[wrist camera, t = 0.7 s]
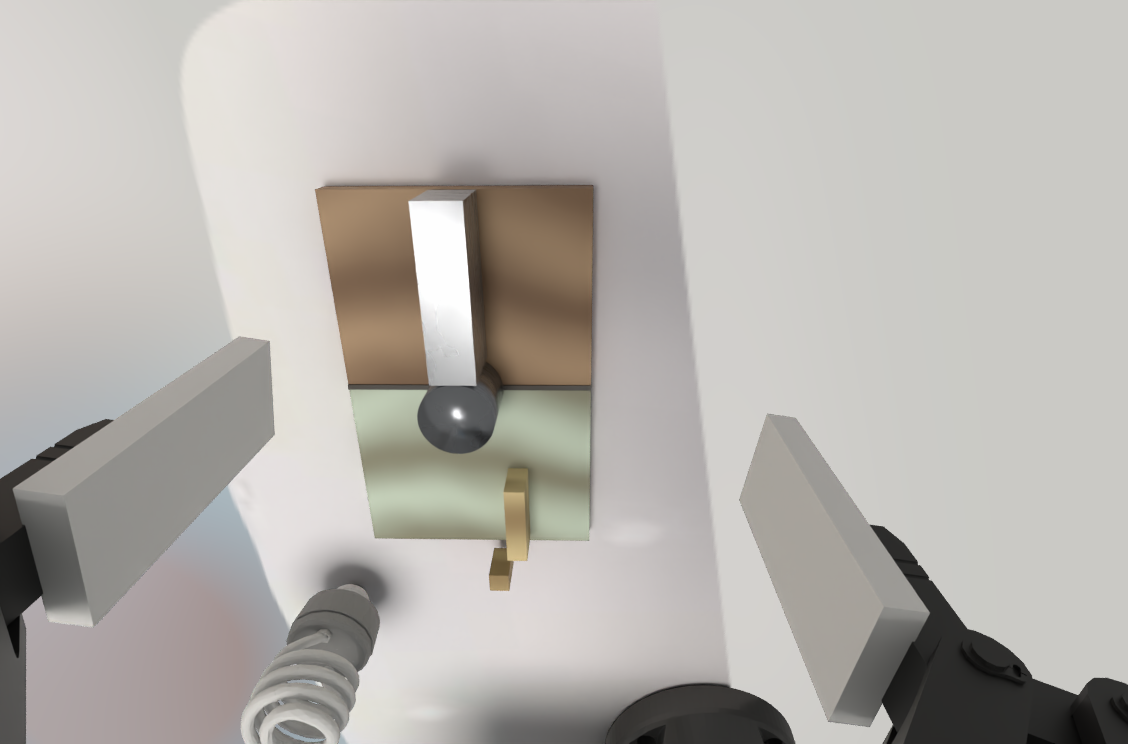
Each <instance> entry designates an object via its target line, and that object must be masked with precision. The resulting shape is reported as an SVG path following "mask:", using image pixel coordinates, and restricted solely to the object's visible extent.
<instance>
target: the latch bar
mask: <svg viewBox="0 0 1128 744" xmlns="http://www.w3.org/2000/svg"><path fill="white" fill-rule="evenodd" d="M409 210H410V219H411V228H412V237H413V246H414V255H415V264H416V273H417V282H418V291H419V300H420V309H421V318H422V327H423V336H424V345H425V354H426V363H427V373H428V382H429V388H428V390H427V392H426V394H425V396H424V398H423V400H422V401H421V403H420V406H419V408H418V413H417V421H418V425H419V428H420V431H421V433H422V434H423V436H424V437H425V438H426V439H427V441H428V442H430V443H431V444H432V445H433V446H435V447H436V448H438V449H440V450H442V451H445V452H448V453H453V454H465V453H470V452H473V451H476V450H478V449H480V448H481V447H483V446H484V445H485V444H486V443H487V442H488V441H489V439H490V438H491V436H492V434H493V431H494V428H495V424H496V420H497V416H498V413H499V409H500V405H501V401H502V398H503V383H502V380H501V377H500V376H499V374H498V372H497V371H496V370H495V369H494V368H493V367H492V366H491V365H490V364H489V363H487V362H486V359H487V347H486V332H485V317H484V301H483V286H482V271H481V256H480V241H479V225H478V210H477V195H476V190H427V191H425V192H423V193H422V194H420V195H418V196H416V197H415V198H413V199H411V200H409Z"/></svg>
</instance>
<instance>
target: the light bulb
mask: <svg viewBox="0 0 1128 744" xmlns="http://www.w3.org/2000/svg"><path fill="white" fill-rule="evenodd" d="M379 624H380V619H379V616H378V612H377V610H376V609H375V607H374V606H373V604H372V603H371V602H370V601H369V596H368V594H367V593H366V591H365V590H364V589H363V588H362V587H359V586H357V585H354V584H345V585H342V586H340V587H338V588H337V589H329V590H324V591H321V592H319V593H317V594H316V595H314V596H313V597H312V598H310V599H309V601H308V602H307V604H306V605H305V606H304V608H303V609H302V611H301V612H300V614H299V615H298V616H297V618H296V619H295V621H294V622H293V623H292V626H291V629H290V631H289V635H288V638H287V646H286V647H284V648H283V649H282V650H281V651H280V652H279V653H278V654H277V656H276V657H275V658H274V661H273V662H272V663H271V664H270V665H269V666H268V667H267V668H266V669H265V671H264V672H263V674H262V676H261V678H260V681H259V682H258V684H257V685H256V686H255V688H254V690H253V692H252V695H251V697H250V701H249V703H248V704H247V706H246V708H245V710H244V711H243V714H242V718H241V733H242V736H243V740H244V742H245V744H338V742H339V738H340V732H341V731H342V730H343V729H344V728H345V727H346V725H347V723H348V721H349V712H350V711H351V710H352V708H353V707H354V704H355V701H356V697H355V692H356V690H357V688H358V686H359V675H358V673H357V672H358V671H360V670H362V669H363V667H364V666H365V665H366V664H367V662H368V660H369V657H370V656H371V655H372V652H373V649H374V645H375V641H376V637H377V634H378V630H379ZM293 664H297V665H293ZM290 665H292V666H290ZM345 677H346V678H347V679H346V678H345ZM300 679H306V680H313V681H318V682H321V683H322V686H323V687H320V686H316V685H312V684H308V683H287V681H290V680H300ZM279 700H281V701H282V702H283V703H284V705H280V704H279V702H278V701H279ZM310 701H312V702H316V703H318V704H315V703H312V702H310ZM319 704H320V705H319ZM264 710H265V711H266V713H267V714H268V715H266V714H265V711H264ZM334 719H335V720H334ZM276 724H278V725H279V726H280V727H282V728H284V729H286V730H288V731H289V732H291V733H294V734H297V735H300V736H303V737H306V738H315V739H316V738H317V739H324V738H326V739H325V740H323V741H320V742H304V741H301V740H297V739H294V738H292V737H290V736H288V735H285V734H283V733H282V732H281V731H279V730H278V729H277V728H276V727H275V725H276ZM255 727H256V728H255ZM256 729H257V730H258V732H259V735H260V737H259V735H258V733H257V731H256Z"/></svg>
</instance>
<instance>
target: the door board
mask: <svg viewBox="0 0 1128 744" xmlns="http://www.w3.org/2000/svg"><path fill="white" fill-rule="evenodd" d="M427 190H476V195H477V210H478V225H479V241H480V256H481V271H482V286H483V301H484V317H485V332H486V347H487V359H486V362H487V363H489V364H490V365H491V366H492V367H493V368H494V369H495V370H496V371H497V372H498V374H499V376H500V377H501V380H502V383H503V398H502V401H501V405H500V409H499V413H498V416H497V420H496V424H495V428H494V431H493V434H492V436H491V438H490V439H489V441H488V442H487V443H486V444H485V445H484V446H483V447H481V448H480V449H478V450H476V451H473V452H470V453H465V454H453V453H448V452H445V451H442V450H440V449H438V448H436V447H435V446H433V445H432V444H431V443H430V442H428V441H427V439H426V438H425V437H424V436H423V434H422V433H421V431H420V428H419V425H418V421H417V413H418V408H419V406H420V403H421V401H422V400H423V398H424V396H425V394H426V392H427V390H428V388H429V382H428V373H427V363H426V354H425V345H424V336H423V327H422V318H421V309H420V300H419V291H418V282H417V273H416V264H415V255H414V246H413V237H412V228H411V219H410V210H409V200H411V199H413V198H415V197H416V196H418V195H420V194H422V193H423V192H425V191H427ZM315 192H316V198H317V204H318V210H319V215H320V221H321V227H322V233H323V239H324V245H325V250H326V256H327V262H328V268H329V274H330V279H331V285H332V291H333V297H334V303H335V309H336V314H337V320H338V326H339V332H340V338H341V344H342V349H343V355H344V361H345V367H346V373H347V379H348V389H349V390H350V396H351V402H352V408H353V413H354V419H355V425H356V431H357V437H358V443H359V448H360V454H361V460H362V466H363V472H364V478H365V483H366V489H367V495H368V501H369V507H370V513H371V518H372V524H373V530H374V536H375V538H395V539H483V540H506V544H507V548H494V553H493V558H492V563H491V568H490V573H489V582H490V590H496V591H509V589H510V582H511V576H512V569H513V561H527V558H528V550H529V541H530V540H570V541H589V514H590V426H591V339H592V252H593V185H524V186H324V187H321V188H318V189H315Z"/></svg>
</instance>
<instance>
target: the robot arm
mask: <svg viewBox="0 0 1128 744" xmlns="http://www.w3.org/2000/svg"><path fill="white" fill-rule="evenodd" d="M274 435H275V432H274V414H273V395H272V377H271V358H270V341H266V340H259V339H253V338H246V337H238V338H236V339H235V340H233V341H232V342H230V343H229V344H227V345H226V346H224V347H223V348H221V349H220V350H218V351H217V352H215V353H214V354H212V355H211V356H209V357H208V358H206V359H205V360H203V361H202V362H201V363H199V364H198V365H196V366H195V367H193V368H192V369H190V370H189V371H187V372H186V373H184V374H183V375H181V376H180V377H178V378H177V379H175V380H174V381H172V382H171V383H169V384H168V385H167V386H165V387H163V388H162V389H160V390H159V391H157V392H156V393H154V394H153V395H151V396H150V397H148V398H147V399H145V400H144V401H142V402H141V403H139V404H138V405H136V406H135V407H133V408H132V409H130V410H129V411H128V412H126V413H124V414H123V415H121V416H120V417H118V418H117V419H116V420H109V419H105V420H102V421H100V422H97V423H94V424H92V425H89V426H86V427H83V428H81V429H78V430H76V431H74V432H73V433H71V434H70V435H68V436H67V437H65V438H64V439H62V440H60V441H59V442H57V443H56V444H55V446H54V447H50V448H48V449H46V450H45V451H43V452H42V453H40V454H39V455H37V457H36V459H31V460H29V461H28V462H26V463H25V464H23V465H21V466H20V467H18V468H17V469H15V470H13V471H12V472H10V473H9V474H7V475H6V476H4V477H2V478H1V479H0V744H26V627H25V623H24V620H23V616H22V613H23V612H24V611H25V610H26V609H27V608H28V607H29V606H30V605H31V604H32V603H33V602H35V601H36V600H37V599H38V598H39V597H40V596H42V600H43V604H44V607H45V611H46V615H47V618H48V621H49V622H56V623H63V624H70V625H79V626H86V627H95V626H96V625H97V624H98V623H99V621H100V620H101V619H102V618H103V617H104V616H105V615H106V614H107V613H108V612H109V611H110V610H111V609H112V608H113V606H114V605H115V604H116V603H117V602H118V601H119V600H120V599H121V598H122V597H123V596H124V595H125V594H126V593H127V591H128V590H129V589H130V588H131V587H132V586H133V585H134V584H135V583H136V582H137V581H138V580H139V579H140V578H141V577H142V576H143V575H144V573H145V572H146V571H147V570H148V569H149V568H150V567H151V566H152V565H153V564H154V563H155V562H156V561H157V560H158V559H159V557H160V556H161V555H162V554H163V553H164V552H165V551H166V550H167V549H168V548H169V547H170V546H171V544H173V542H174V541H175V540H176V539H177V538H178V537H179V536H180V535H181V534H182V533H183V532H184V531H185V530H186V528H187V527H188V526H189V525H190V524H191V523H192V522H193V521H194V520H195V519H196V518H197V517H198V516H199V515H200V513H202V511H203V510H204V509H205V508H206V507H207V506H208V505H209V504H210V503H211V502H212V501H213V499H215V497H217V496H218V494H219V493H220V492H221V491H222V490H223V489H224V488H225V487H226V486H227V485H228V484H229V483H230V482H231V481H232V480H233V478H234V477H235V476H236V475H237V474H238V473H239V472H240V471H241V470H242V469H243V468H244V467H245V466H246V465H247V464H248V462H249V461H250V460H251V459H252V458H253V457H254V456H255V455H256V454H257V453H258V452H259V451H260V450H261V449H262V447H263V446H264V445H265V444H266V443H267V442H268V441H269V440H270V439H271V438H272V437H273V436H274ZM739 500H740V503H741V506H742V508H743V511H744V513H745V515H746V518H747V520H748V523H749V525H750V528H751V530H752V533H753V535H754V538H755V540H756V543H757V545H758V548H759V550H760V553H761V555H762V558H763V560H764V563H765V565H766V568H767V570H768V573H769V575H770V578H771V580H772V582H773V585H774V587H775V590H776V593H777V595H778V598H779V600H780V603H781V605H782V608H783V610H784V613H785V615H786V618H787V620H788V622H789V625H790V628H791V630H792V633H793V635H794V638H795V640H796V643H797V645H798V648H799V650H800V652H801V655H802V657H803V660H804V662H805V665H806V667H807V670H808V672H809V675H810V677H811V680H812V682H813V685H814V687H815V690H816V692H817V695H818V697H819V700H820V702H821V705H822V707H823V709H824V712H825V715H826V717H827V720H828V722H836V723H844V724H851V725H858V726H866V727H870V726H871V724H872V722H873V720H874V718H875V716H876V714H877V712H878V710H879V709H880V707H881V705H882V703H883V705H884V707H885V709H886V711H887V713H888V715H889V717H890V719H891V721H892V723H893V726H892V728H891V729H890V731H889V733H888V735H887V737H886V738H885V740H884V742H883V744H1128V685H1127V684H1125V683H1122V682H1119V681H1115V680H1112V679H1109V678H1093V679H1092V680H1091V681H1089V682H1088V683H1087V684H1086V685H1085V687H1084V688H1083V690H1082V691H1081V692H1080V694H1079V695H1076V694H1073V693H1070V692H1068V691H1065V690H1062V689H1060V688H1057V687H1054V686H1051V685H1049V684H1046V683H1043V682H1040V681H1038V680H1035V679H1032V675H1031V674H1030V672H1029V671H1028V669H1027V668H1026V666H1025V665H1024V663H1023V662H1022V661H1021V660H1020V659H1019V658H1018V657H1017V656H1015V655H1014V654H1013V653H1012V652H1011V651H1010V650H1009V649H1008V648H1006V647H1005V646H1003V645H1002V644H1000V643H998V642H997V641H995V640H994V639H992V638H990V637H988V636H986V635H983V634H981V633H979V632H976V631H973V630H969V629H967V628H966V626H965V625H964V624H963V622H962V621H961V620H960V618H959V617H958V616H957V614H956V613H955V612H954V610H953V609H952V608H951V606H950V605H949V603H948V602H947V601H946V599H945V598H944V597H943V595H942V594H941V593H940V591H939V590H938V589H937V587H936V586H935V585H934V583H933V582H932V581H930V580H929V577H928V575H927V574H926V572H925V571H924V570H923V568H922V567H921V566H920V565H918V562H917V560H916V559H915V557H914V556H913V555H912V553H911V552H910V551H909V549H908V548H907V547H906V545H905V544H904V543H903V542H902V541H900V540H899V539H898V538H897V537H896V536H894V535H893V534H892V533H891V532H889V531H888V530H887V529H885V527H883V526H875V525H869V524H868V522H867V521H866V520H865V518H864V516H863V515H862V513H861V512H860V511H859V509H858V508H857V506H856V505H855V503H854V502H853V500H852V499H851V497H850V496H849V495H848V493H847V492H846V490H845V489H844V487H843V486H842V484H841V483H840V481H839V480H838V479H837V477H836V476H835V474H834V473H833V471H832V470H831V468H830V467H829V466H828V464H827V463H826V461H825V460H824V458H823V457H822V455H821V454H820V452H819V451H818V450H817V448H816V447H815V445H814V444H813V442H812V441H811V439H810V438H809V436H808V435H807V434H806V432H805V431H804V429H803V428H802V426H801V425H800V423H799V422H798V421H797V419H796V418H792V417H786V416H779V415H772V414H767V416H766V419H765V422H764V425H763V428H762V431H761V434H760V437H759V441H758V444H757V447H756V450H755V453H754V456H753V459H752V462H751V465H750V469H749V471H748V475H747V478H746V481H745V484H744V487H743V490H742V493H741V496H740V499H739ZM605 744H795V741H794V738H793V735H792V732H791V729H790V727H789V725H788V723H787V721H786V720H785V718H784V717H783V716H782V714H781V713H780V712H779V711H778V710H777V709H775V708H774V707H773V706H772V705H771V704H769V703H768V702H766V701H764V700H763V699H761V698H759V697H757V696H755V695H752V694H750V693H747V692H744V691H741V690H737V689H733V688H728V687H722V686H709V685H698V686H686V687H679V688H674V689H669V690H666V691H662V692H659V693H656V694H654V695H651V696H649V697H647V698H644V699H642V700H641V701H639V702H637V703H635V704H634V705H632V706H631V707H629V708H628V709H627V710H626V711H624V712H623V713H622V714H621V715H620V716H619V717H618V718H617V720H616V721H615V722H614V723H613V725H612V726H611V728H610V730H609V732H608V734H607V737H606V741H605Z"/></svg>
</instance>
